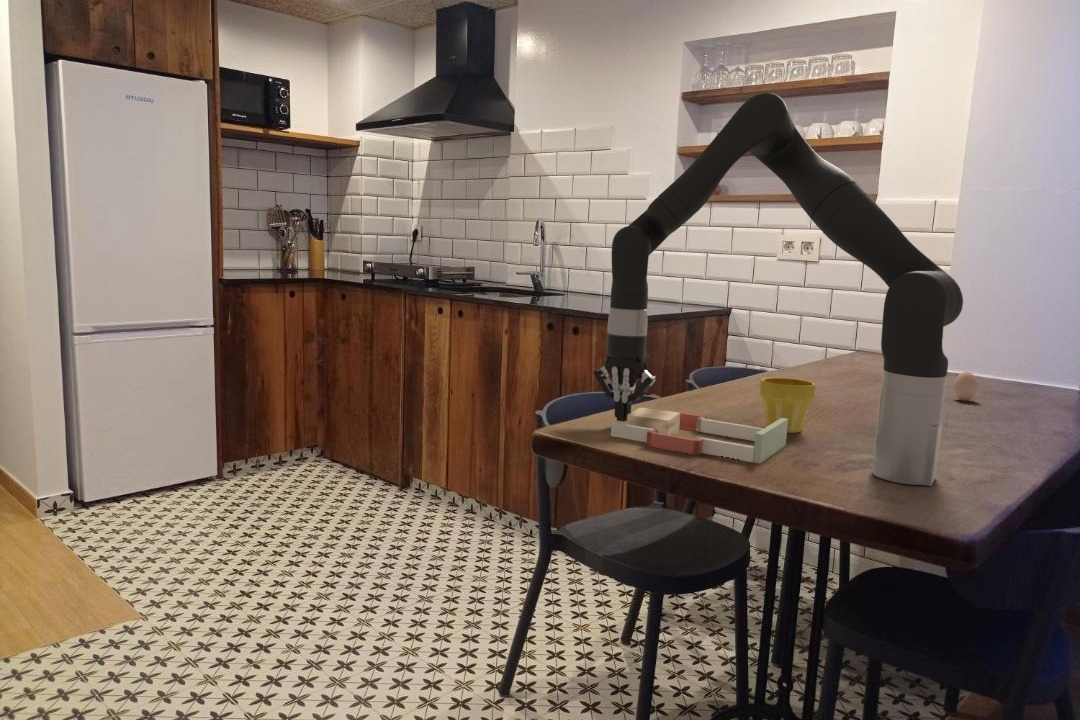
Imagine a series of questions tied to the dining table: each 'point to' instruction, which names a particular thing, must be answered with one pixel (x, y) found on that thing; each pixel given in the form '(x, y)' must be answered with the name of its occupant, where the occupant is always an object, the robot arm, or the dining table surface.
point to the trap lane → (764, 438)
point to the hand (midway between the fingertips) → (622, 420)
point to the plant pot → (787, 400)
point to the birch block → (655, 420)
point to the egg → (965, 386)
